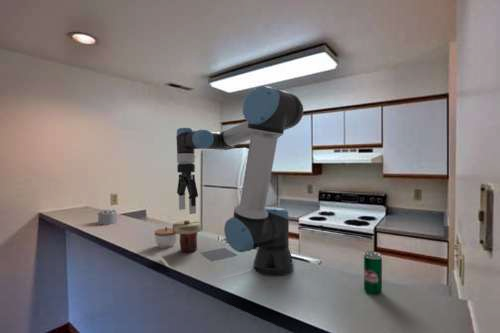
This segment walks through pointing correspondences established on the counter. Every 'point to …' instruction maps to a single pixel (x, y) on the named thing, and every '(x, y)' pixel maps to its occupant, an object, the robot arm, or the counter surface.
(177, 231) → the lid
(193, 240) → the mug
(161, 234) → the lidded jar
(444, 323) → the counter surface
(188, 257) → the counter surface
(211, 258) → the mat
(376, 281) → the soda can
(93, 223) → the counter surface
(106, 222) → the lumpy-topped squat cylinder
